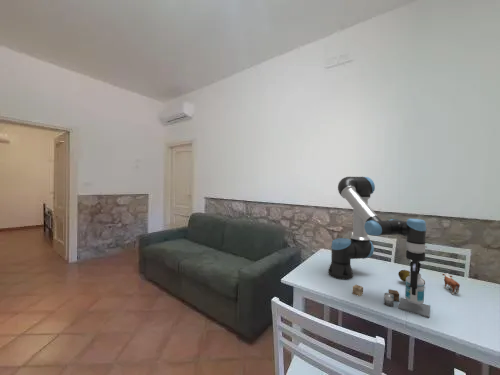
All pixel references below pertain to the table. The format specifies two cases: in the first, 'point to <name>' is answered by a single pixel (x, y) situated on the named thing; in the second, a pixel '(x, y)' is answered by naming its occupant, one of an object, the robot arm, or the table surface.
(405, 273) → the potato
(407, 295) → the pill bottle
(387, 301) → the grey egg shape
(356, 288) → the beech cube
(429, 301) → the table surface
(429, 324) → the table surface
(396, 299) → the walnut cube
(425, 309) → the coaster
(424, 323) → the table surface
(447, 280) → the bull figurine
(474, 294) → the table surface
